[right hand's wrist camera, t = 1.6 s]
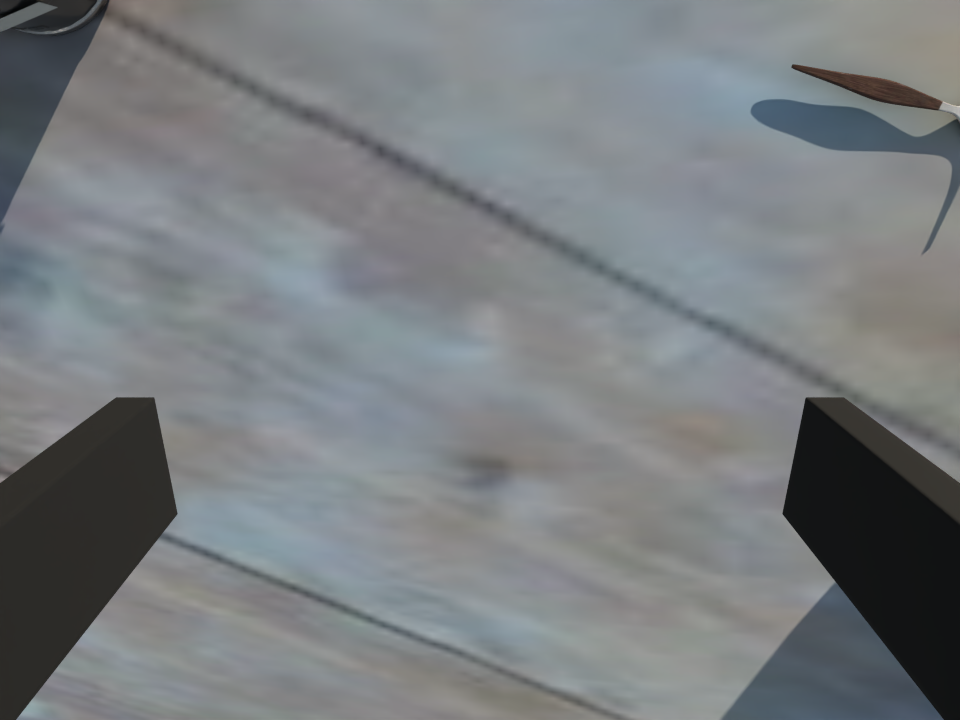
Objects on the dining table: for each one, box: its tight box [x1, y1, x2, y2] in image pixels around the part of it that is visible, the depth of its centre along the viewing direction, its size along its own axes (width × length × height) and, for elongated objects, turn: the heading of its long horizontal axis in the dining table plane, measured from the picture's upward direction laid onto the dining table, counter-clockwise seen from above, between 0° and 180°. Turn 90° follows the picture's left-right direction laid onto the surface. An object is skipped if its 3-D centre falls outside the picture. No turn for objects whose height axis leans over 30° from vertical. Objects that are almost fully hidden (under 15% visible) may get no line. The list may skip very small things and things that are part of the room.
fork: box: [791, 65, 960, 122], centre depth 35 cm, size 3×16×2 cm, turn 77°
